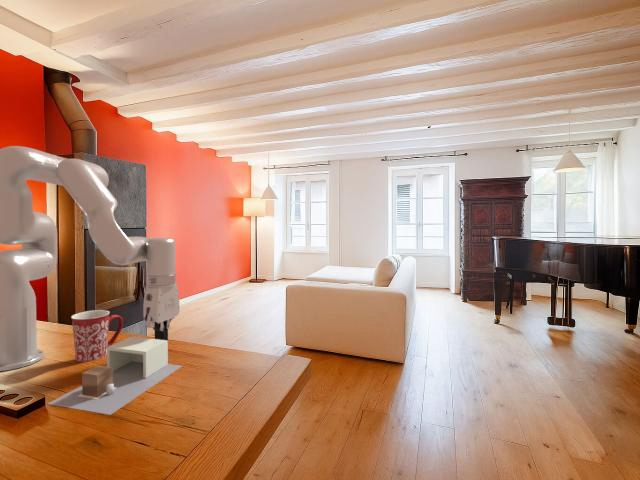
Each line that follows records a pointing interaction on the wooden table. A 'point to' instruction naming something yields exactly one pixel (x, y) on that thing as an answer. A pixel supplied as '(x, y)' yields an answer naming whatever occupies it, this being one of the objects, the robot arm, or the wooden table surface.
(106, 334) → the mug
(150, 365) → the housing cover
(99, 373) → the block
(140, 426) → the wooden table surface
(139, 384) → the base board
